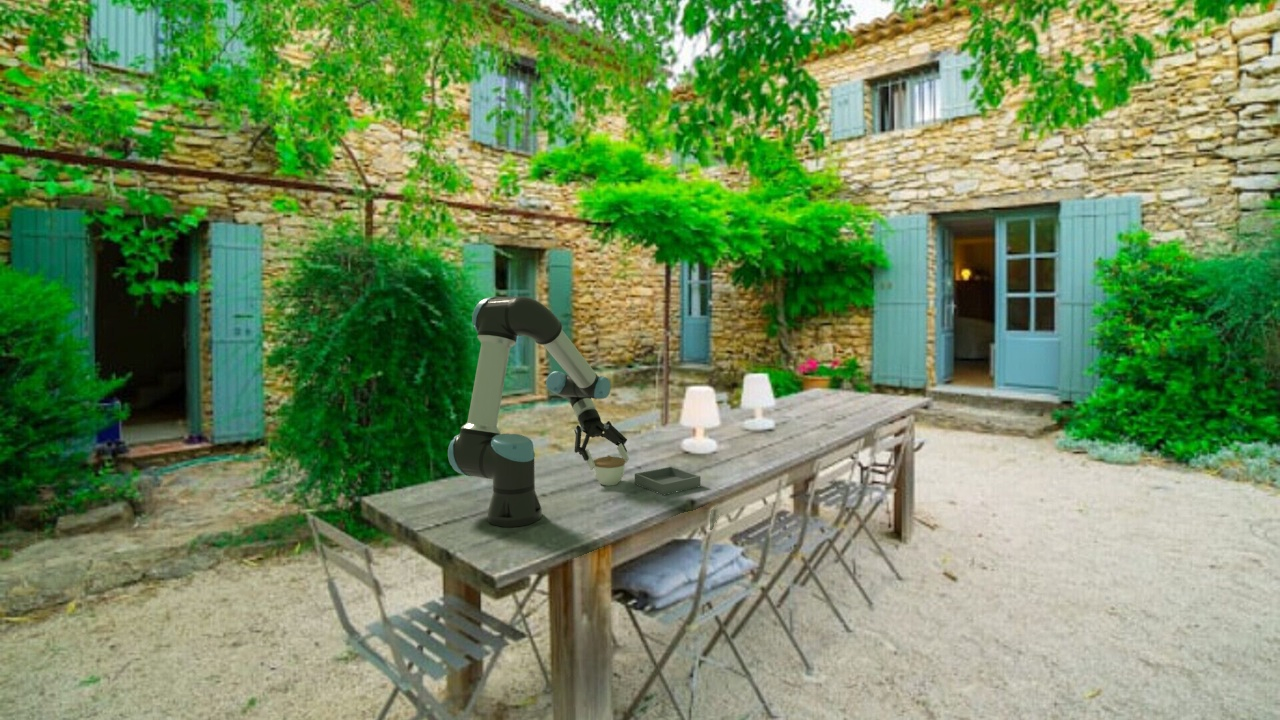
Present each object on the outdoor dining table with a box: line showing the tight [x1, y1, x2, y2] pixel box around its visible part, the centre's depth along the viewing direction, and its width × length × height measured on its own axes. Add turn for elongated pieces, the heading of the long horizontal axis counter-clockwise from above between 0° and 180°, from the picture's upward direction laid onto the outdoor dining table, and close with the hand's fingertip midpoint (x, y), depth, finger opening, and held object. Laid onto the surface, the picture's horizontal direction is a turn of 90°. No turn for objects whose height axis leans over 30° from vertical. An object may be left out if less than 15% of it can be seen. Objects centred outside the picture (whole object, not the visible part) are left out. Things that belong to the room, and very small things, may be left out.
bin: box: [634, 466, 701, 496], centre depth 208 cm, size 16×16×4 cm
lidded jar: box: [593, 455, 626, 486], centre depth 211 cm, size 11×11×9 cm
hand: (610, 464), depth 211 cm, fingers open, 13 cm apart
